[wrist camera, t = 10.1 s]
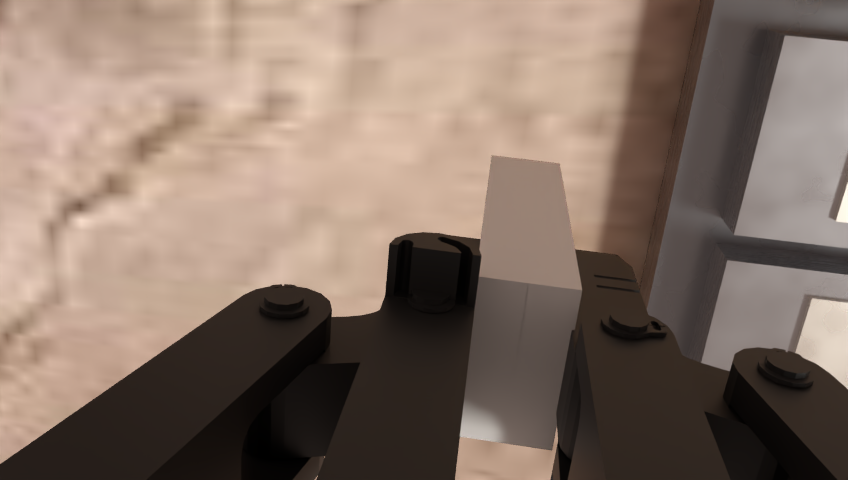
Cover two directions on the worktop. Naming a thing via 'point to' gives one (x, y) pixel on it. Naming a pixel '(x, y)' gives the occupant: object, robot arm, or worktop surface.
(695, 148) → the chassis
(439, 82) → the worktop surface
